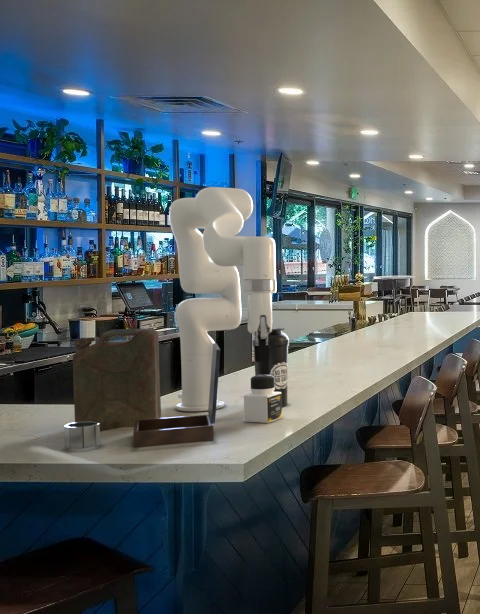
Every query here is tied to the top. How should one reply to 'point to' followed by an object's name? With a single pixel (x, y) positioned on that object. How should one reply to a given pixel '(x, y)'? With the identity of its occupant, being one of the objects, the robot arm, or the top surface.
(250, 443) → the top surface
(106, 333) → the canister
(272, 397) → the medicine bottle
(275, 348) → the water bottle
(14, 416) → the top surface
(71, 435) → the grey octagonal hollow piece
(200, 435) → the brown tray
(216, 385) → the lid
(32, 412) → the top surface
